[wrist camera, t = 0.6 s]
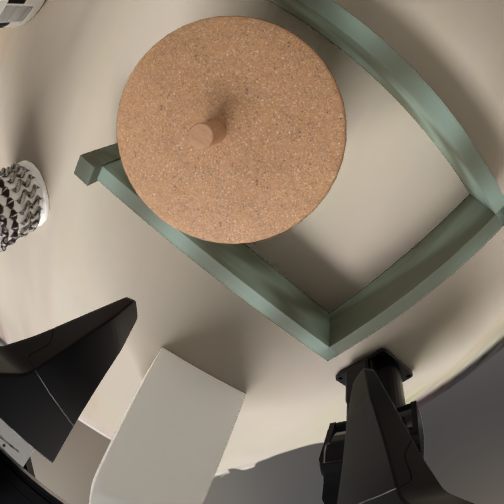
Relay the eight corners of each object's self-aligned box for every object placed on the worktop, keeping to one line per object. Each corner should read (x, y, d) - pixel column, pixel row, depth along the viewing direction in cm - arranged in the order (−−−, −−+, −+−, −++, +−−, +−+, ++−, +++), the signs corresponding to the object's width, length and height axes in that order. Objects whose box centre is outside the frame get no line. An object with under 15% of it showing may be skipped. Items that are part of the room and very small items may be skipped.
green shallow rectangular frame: (487, 194, 16) (522, 219, 11) (327, 328, 25) (325, 371, 20) (245, -30, 12) (224, -61, 8) (114, 157, 21) (74, 173, 17)
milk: (142, 379, 38) (67, 516, 15) (161, 346, 32) (61, 529, 10) (209, 417, 39) (155, 556, 17) (246, 393, 33) (183, 578, 11)
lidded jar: (239, 21, 14) (177, -31, 6) (367, 115, 16) (413, 124, 8) (157, 138, 20) (68, 169, 12) (267, 224, 21) (233, 304, 13)
